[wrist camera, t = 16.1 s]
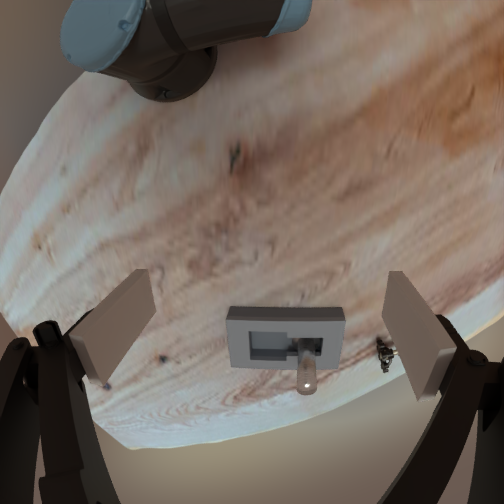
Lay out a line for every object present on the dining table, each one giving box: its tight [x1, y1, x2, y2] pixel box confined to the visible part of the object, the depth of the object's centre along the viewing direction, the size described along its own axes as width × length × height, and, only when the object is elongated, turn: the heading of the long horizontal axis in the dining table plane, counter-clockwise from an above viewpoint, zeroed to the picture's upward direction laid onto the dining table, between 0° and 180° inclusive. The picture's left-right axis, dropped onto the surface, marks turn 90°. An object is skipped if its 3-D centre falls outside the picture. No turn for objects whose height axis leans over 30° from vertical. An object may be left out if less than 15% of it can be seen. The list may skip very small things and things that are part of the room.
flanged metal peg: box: [292, 338, 321, 395], centre depth 46 cm, size 5×5×14 cm
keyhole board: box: [226, 306, 346, 370], centre depth 51 cm, size 20×11×4 cm, turn 92°
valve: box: [377, 340, 399, 373], centre depth 48 cm, size 7×7×12 cm
